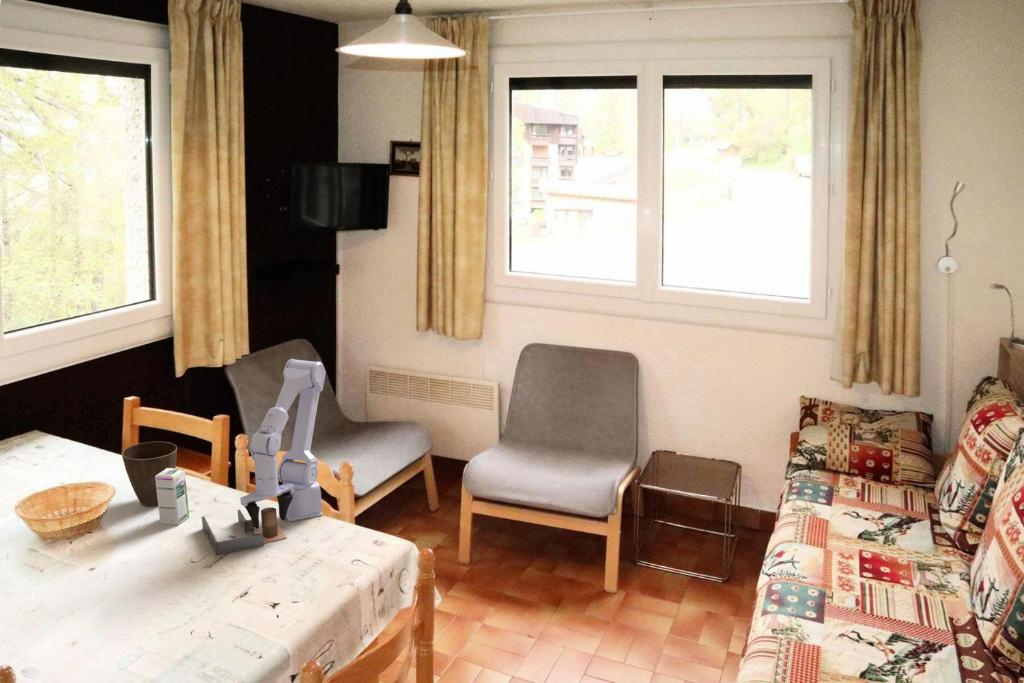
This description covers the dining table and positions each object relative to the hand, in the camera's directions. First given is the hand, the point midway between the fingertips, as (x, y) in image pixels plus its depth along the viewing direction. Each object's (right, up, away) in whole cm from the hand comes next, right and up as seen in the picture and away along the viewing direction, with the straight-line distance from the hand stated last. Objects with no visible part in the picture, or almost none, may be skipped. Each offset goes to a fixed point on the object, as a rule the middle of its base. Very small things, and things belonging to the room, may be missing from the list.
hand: (269, 523), depth 252 cm
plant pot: (-39, +2, +22) cm, 45 cm away
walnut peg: (0, -3, +1) cm, 3 cm away
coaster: (0, -4, +1) cm, 4 cm away
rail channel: (-10, -4, 0) cm, 11 cm away
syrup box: (-29, -1, +10) cm, 31 cm away
